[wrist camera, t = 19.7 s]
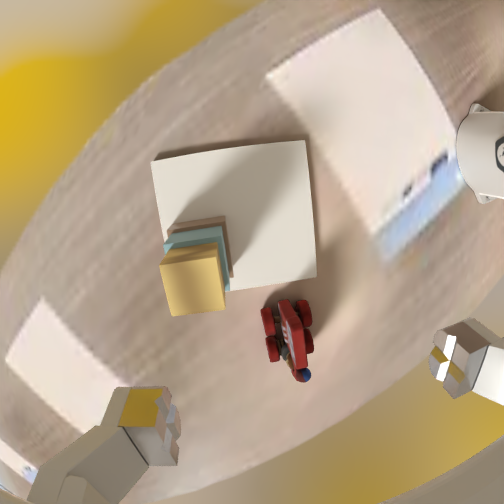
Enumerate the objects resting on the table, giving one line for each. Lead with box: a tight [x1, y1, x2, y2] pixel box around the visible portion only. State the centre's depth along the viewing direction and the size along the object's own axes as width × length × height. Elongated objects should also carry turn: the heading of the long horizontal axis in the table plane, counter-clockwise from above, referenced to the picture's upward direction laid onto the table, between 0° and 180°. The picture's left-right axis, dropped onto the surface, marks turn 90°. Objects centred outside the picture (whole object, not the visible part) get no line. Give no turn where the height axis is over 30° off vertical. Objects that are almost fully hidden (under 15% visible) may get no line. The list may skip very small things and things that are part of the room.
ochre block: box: [159, 242, 225, 316], centre depth 28 cm, size 5×5×5 cm
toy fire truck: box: [261, 299, 314, 382], centre depth 40 cm, size 7×12×10 cm, turn 9°
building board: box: [151, 140, 317, 292], centre depth 37 cm, size 20×19×5 cm
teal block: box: [163, 226, 230, 291], centre depth 33 cm, size 6×6×5 cm
